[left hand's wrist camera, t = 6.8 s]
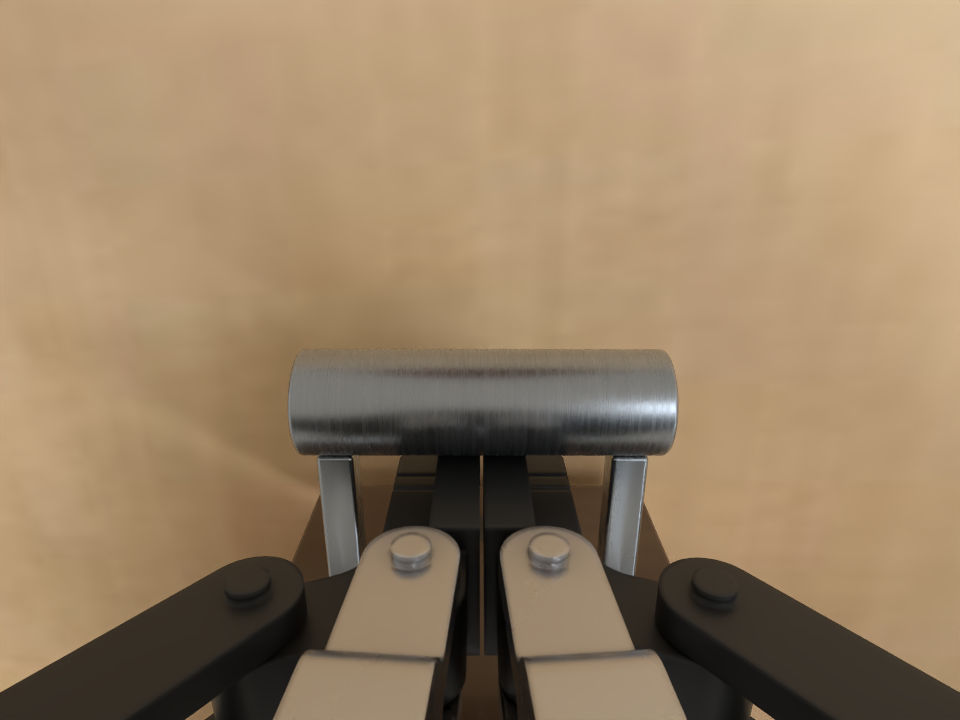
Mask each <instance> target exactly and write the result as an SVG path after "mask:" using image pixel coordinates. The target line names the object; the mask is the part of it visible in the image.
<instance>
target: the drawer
mask: <svg viewBox="0 0 960 720" xmlns="http://www.w3.org/2000/svg"><path fill="white" fill-rule="evenodd" d="M288 422H289V429H290V435H291V439H292V442H293V445H294V447H295V449H296V451H297V452H298V453H299V454H301V455H318V457H317V466H318V476H319V485H320V495H319V498H318V500H317V503H316V505H315V507H314V510H313V512H312V515H311V517H310V520H309V522H308V524H307V527H306V529H305V532H304V534H303V536H302V539H301V541H300V544H299V546H298V549H297V551H296V553H295V556H294V558H293V561H292V563H294V564H295V565H296V566H297V567H298V568H299V569H300V571H301V572H302V575H303V578H304V582H308V581H312V580H316V579H321V578H325V577H330V576H334V575H337V574H341V573H343V572H346V571H349V570H351V569H353V568H355V567H357V566H358V564H359V561H360V559H361V556H362V553H363V551H364V549H365V548H366V546H367V545H368V544H369V543H370V542H371V541H372V540H373V539H374V538H376V537H377V536H379V535H380V534H382V533H383V529H384V525H385V521H386V516H387V512H388V508H389V504H390V500H391V495H392V491H393V490H394V486H362V485H361V472H360V458H359V455H587V456H605V466H604V478H603V486H570V490H571V492H572V496H573V500H574V504H575V508H576V512H577V516H578V520H579V524H580V528H581V532H582V536H583V537H584V538H586V539H587V540H588V541H589V542H590V543H591V544H592V545H593V546H594V548H595V550H596V551H597V553H598V556H599V559H600V561H601V562H602V563H603V564H605V565H606V566H608V567H610V568H612V569H614V570H617V571H619V572H622V573H625V574H628V575H632V576H636V577H640V578H645V579H649V580H654V581H658V582H659V577H660V575H661V572H662V571H663V570H664V568H666V567H667V566H668V565H669V564H670V563H669V560H668V558H667V556H666V553H665V551H664V548H663V546H662V544H661V541H660V539H659V537H658V534H657V532H656V530H655V527H654V525H653V523H652V520H651V518H650V516H649V513H648V511H647V509H646V506H645V504H644V502H643V501H644V492H645V483H646V474H647V466H648V458H647V456H662V455H665V454H667V453H668V452H669V451H670V449H671V447H672V445H673V442H674V438H675V434H676V429H677V422H678V389H677V381H676V376H675V371H674V368H673V364H672V362H671V359H670V357H669V356H668V354H667V353H666V352H665V351H663V350H659V349H304V350H302V351H300V352H299V353H298V355H297V356H296V358H295V361H294V364H293V367H292V371H291V375H290V381H289V389H288ZM460 720H500V717H499V708H498V655H484V562H483V486H480V656H467V664H466V680H465V683H464V686H463V688H462V708H461V717H460Z"/></svg>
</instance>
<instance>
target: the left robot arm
mask: <svg viewBox="0 0 960 720" xmlns="http://www.w3.org/2000/svg"><path fill="white" fill-rule="evenodd" d="M483 562H484V655H498V708H499V717H500V720H755V719H753V718H752V717H751V716H750V715H751V710H752V705H753V704H754V705H756V706H757V707H759V708H760V709H761V710H763V711H764V712H765V713H767V714H768V715H770V716H771V717H772V718H774V719H775V720H960V692H958V691H956V690H954V689H953V688H951V687H949V686H947V685H945V684H944V683H942V682H940V681H938V680H937V679H935V678H933V677H931V676H929V675H928V674H926V673H924V672H922V671H921V670H919V669H917V668H915V667H914V666H912V665H910V664H908V663H906V662H905V661H903V660H901V659H899V658H898V657H896V656H894V655H892V654H890V653H889V652H887V651H885V650H883V649H882V648H880V647H878V646H876V645H875V644H873V643H871V642H869V641H867V640H866V639H864V638H862V637H860V636H859V635H857V634H855V633H853V632H852V631H850V630H848V629H846V628H844V627H843V626H841V625H839V624H837V623H836V622H834V621H832V620H830V619H828V618H827V617H825V616H823V615H821V614H820V613H818V612H816V611H814V610H813V609H811V608H809V607H807V606H805V605H804V604H802V603H800V602H798V601H797V600H795V599H793V598H791V597H789V596H788V595H786V594H784V593H782V592H781V591H779V590H777V589H775V588H774V587H772V586H770V585H768V584H766V583H765V582H763V581H761V580H759V579H758V578H756V577H754V576H752V575H751V574H749V573H747V572H745V571H743V570H741V569H739V568H737V567H735V566H733V565H731V564H728V563H725V562H722V561H718V560H714V559H708V558H687V559H681V560H678V561H675V562H673V563H671V564H669V565H668V566H667V567H666V568H664V570H663V571H662V572H661V575H660V577H659V582H658V581H654V580H649V579H645V578H640V577H636V576H632V575H628V574H625V573H622V572H619V571H617V570H614V569H612V568H610V567H608V566H606V565H605V564H603V563H602V562H601V561H600V559H599V556H598V553H597V551H596V550H595V548H594V546H593V545H592V544H591V543H590V542H589V541H588V540H587V539H586V538H584V537H583V536H582V532H581V528H580V524H579V520H578V516H577V512H576V508H575V504H574V500H573V496H572V492H571V490H570V484H569V480H568V477H567V472H566V468H565V464H564V460H563V457H562V456H561V455H483ZM467 656H480V455H403V456H402V457H401V458H400V462H399V466H398V470H397V477H396V479H395V483H394V490H393V491H392V495H391V500H390V504H389V508H388V512H387V516H386V521H385V525H384V529H383V533H382V534H380V535H379V536H377V537H376V538H374V539H373V540H372V541H371V542H370V543H369V544H368V545H367V546H366V548H365V549H364V551H363V553H362V556H361V559H360V561H359V564H358V566H357V567H355V568H353V569H351V570H349V571H346V572H343V573H341V574H337V575H334V576H330V577H325V578H321V579H316V580H312V581H308V582H304V578H303V575H302V572H301V571H300V569H299V568H298V567H297V566H296V565H295V564H294V563H292V562H290V561H288V560H285V559H282V558H278V557H269V556H262V557H252V558H247V559H243V560H239V561H236V562H233V563H231V564H228V565H226V566H224V567H222V568H220V569H218V570H217V571H215V572H213V573H211V574H210V575H208V576H206V577H204V578H202V579H201V580H199V581H197V582H195V583H194V584H192V585H190V586H188V587H186V588H185V589H183V590H181V591H179V592H178V593H176V594H174V595H172V596H171V597H169V598H167V599H165V600H163V601H162V602H160V603H158V604H156V605H155V606H153V607H151V608H149V609H147V610H146V611H144V612H142V613H140V614H139V615H137V616H135V617H133V618H132V619H130V620H128V621H126V622H124V623H123V624H121V625H119V626H117V627H116V628H114V629H112V630H110V631H109V632H107V633H105V634H103V635H101V636H100V637H98V638H96V639H94V640H93V641H91V642H89V643H87V644H85V645H84V646H82V647H80V648H78V649H77V650H75V651H73V652H71V653H70V654H68V655H66V656H64V657H62V658H61V659H59V660H57V661H55V662H54V663H52V664H50V665H48V666H47V667H45V668H43V669H41V670H39V671H38V672H36V673H34V674H32V675H31V676H29V677H27V678H25V679H23V680H22V681H20V682H18V683H16V684H15V685H13V686H11V687H9V688H8V689H6V690H4V691H2V692H0V720H185V719H186V718H188V717H189V716H190V715H192V714H193V713H195V712H196V711H197V710H199V709H200V708H202V707H203V706H204V705H206V704H207V703H208V702H210V701H211V700H212V705H213V710H214V713H213V714H212V715H211V716H209V717H208V718H207V719H205V720H460V717H461V708H462V688H463V686H464V683H465V680H466V664H467Z"/></svg>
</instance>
